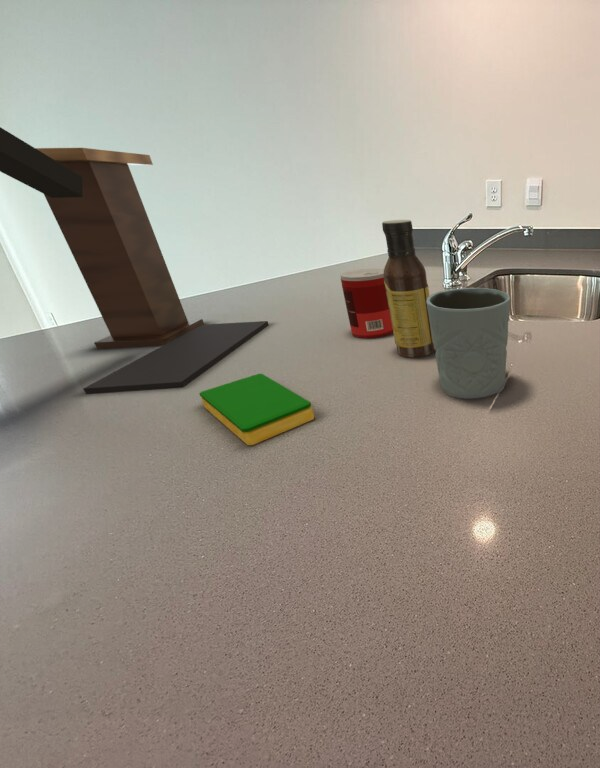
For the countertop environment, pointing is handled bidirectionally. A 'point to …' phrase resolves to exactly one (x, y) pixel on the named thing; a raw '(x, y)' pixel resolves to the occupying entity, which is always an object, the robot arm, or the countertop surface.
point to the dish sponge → (257, 408)
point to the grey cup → (470, 340)
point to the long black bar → (37, 168)
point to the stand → (118, 249)
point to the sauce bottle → (406, 291)
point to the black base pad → (179, 359)
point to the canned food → (367, 303)
